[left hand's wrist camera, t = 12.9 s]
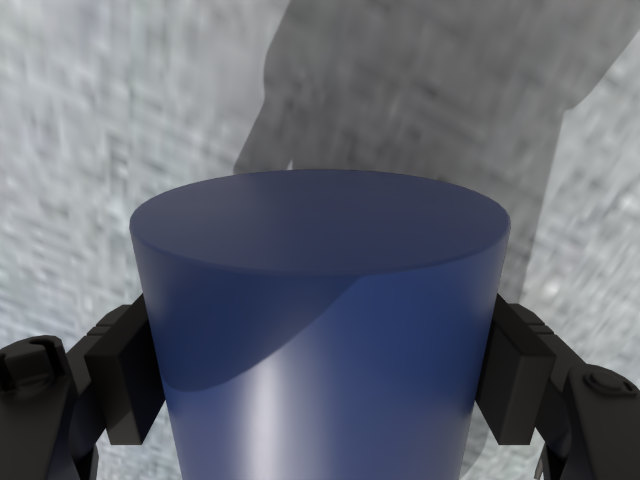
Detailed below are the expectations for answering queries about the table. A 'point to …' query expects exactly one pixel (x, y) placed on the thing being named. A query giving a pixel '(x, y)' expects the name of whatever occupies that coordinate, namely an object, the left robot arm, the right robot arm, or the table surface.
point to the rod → (320, 321)
